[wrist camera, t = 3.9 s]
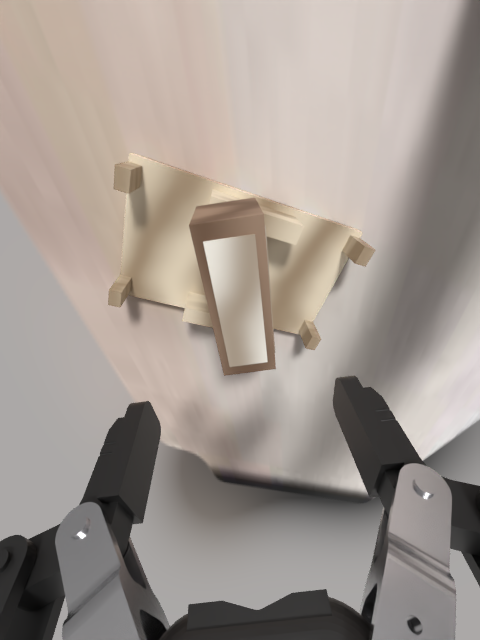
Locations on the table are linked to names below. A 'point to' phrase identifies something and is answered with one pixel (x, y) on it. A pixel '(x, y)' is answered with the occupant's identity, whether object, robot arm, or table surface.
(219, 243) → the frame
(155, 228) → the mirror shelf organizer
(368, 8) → the table surface
